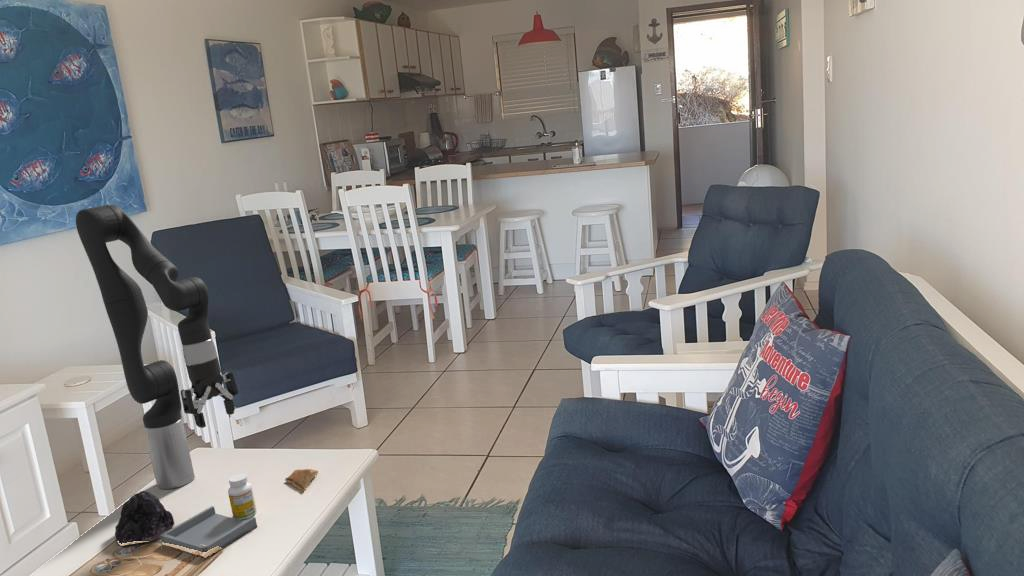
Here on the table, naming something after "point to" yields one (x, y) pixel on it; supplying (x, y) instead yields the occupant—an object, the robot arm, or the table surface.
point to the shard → (301, 478)
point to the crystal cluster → (143, 519)
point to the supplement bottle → (241, 497)
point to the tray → (208, 531)
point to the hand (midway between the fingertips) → (216, 420)
